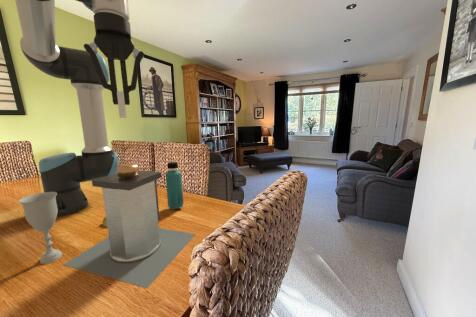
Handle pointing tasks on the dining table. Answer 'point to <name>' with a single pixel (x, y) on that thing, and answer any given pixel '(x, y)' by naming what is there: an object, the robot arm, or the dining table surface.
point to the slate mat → (135, 272)
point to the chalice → (42, 219)
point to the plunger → (127, 170)
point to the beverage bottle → (174, 186)
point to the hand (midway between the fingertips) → (123, 117)
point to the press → (131, 215)
